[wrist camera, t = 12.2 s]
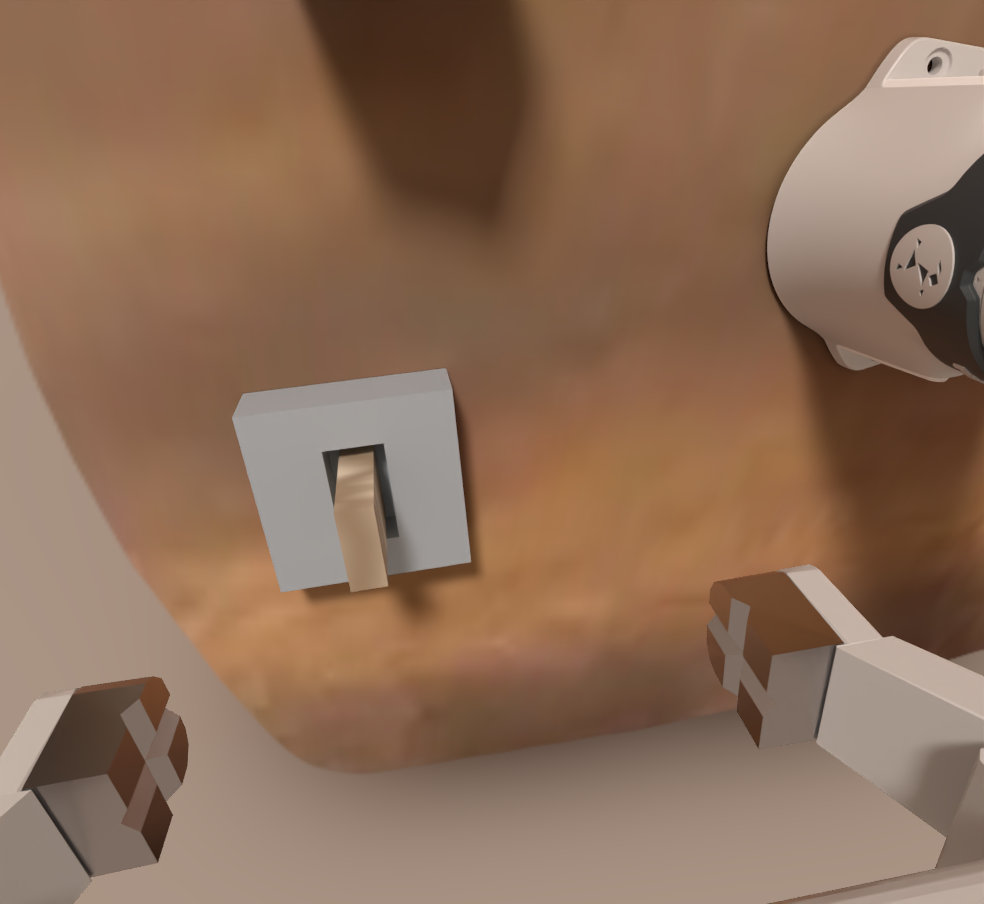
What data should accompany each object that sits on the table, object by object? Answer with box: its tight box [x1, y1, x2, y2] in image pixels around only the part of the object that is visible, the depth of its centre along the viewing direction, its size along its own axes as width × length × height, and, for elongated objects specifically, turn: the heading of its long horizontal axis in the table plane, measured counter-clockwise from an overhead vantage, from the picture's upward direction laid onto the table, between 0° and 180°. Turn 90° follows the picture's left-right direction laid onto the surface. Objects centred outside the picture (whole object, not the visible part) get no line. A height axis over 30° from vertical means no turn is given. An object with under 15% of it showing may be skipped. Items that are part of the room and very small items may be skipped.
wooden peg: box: [334, 445, 388, 592], centre depth 38 cm, size 2×5×8 cm, turn 4°
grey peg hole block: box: [232, 368, 471, 592], centre depth 41 cm, size 12×12×4 cm
